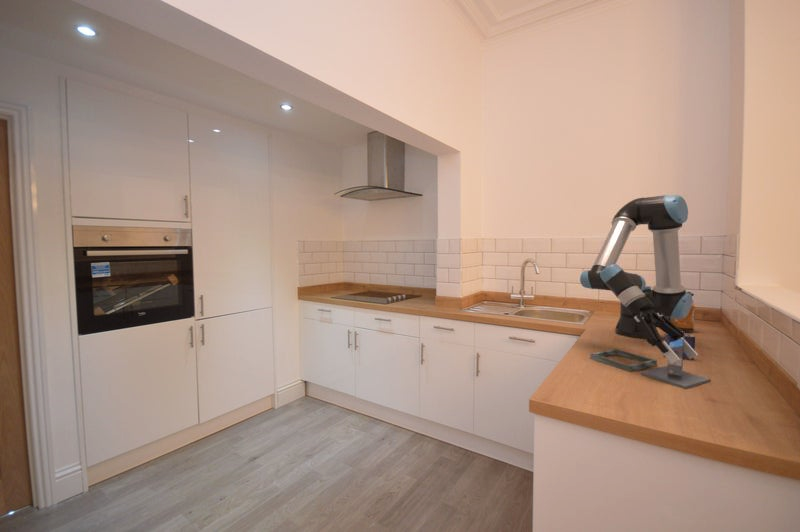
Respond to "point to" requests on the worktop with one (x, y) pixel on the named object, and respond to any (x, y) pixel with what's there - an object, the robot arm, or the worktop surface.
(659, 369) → the mat
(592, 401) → the worktop surface
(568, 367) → the worktop surface
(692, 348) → the robot arm
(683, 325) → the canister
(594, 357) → the holder
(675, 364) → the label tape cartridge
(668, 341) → the flask
